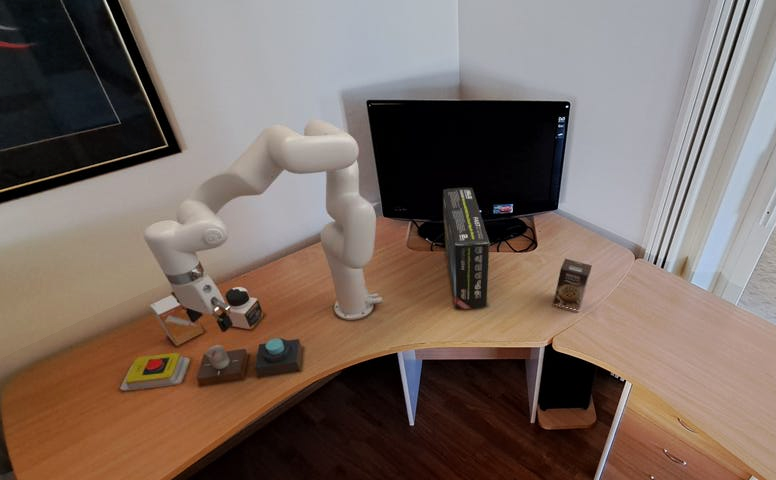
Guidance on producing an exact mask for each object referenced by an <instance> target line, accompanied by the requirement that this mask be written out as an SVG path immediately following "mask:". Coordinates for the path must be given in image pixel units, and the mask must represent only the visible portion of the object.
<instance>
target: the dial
mask: <svg viewBox="0 0 776 480" xmlns="http://www.w3.org/2000/svg"><path fill="white" fill-rule="evenodd" d="M226 351H227V350H226V349H225V347H224V346H223V345H221V344H216V345H213V346H211V347H209V348H208V349H207V350H206V352H205V354H206V355H207V357H208V359H209V361H210V362H211V364H212V366H213V368H215V369H222V368H224V367H226V366H227V365H228V364H229V363H230V359H229V357H228V355H227V353H226Z"/></svg>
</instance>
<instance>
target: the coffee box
mask: <svg viewBox="0 0 776 480" xmlns="http://www.w3.org/2000/svg"><path fill="white" fill-rule="evenodd" d="M592 267H593V266H592V265H591V264H587V263H584V262H580V261H576V260H572V259H568V258H565V259H563V263H562V265H561V266H560V271H559V276H558V279H557V280H558V281H557V284H556V289H555V294H554V300H553V304H552V305H553V307H557V308H561V309H564V310H567V311H571V312H574V313H580V310H581V308H582V305H583V301H584V297H585V293H586V289H587V286H588V282H589V278H590V275H591V271H592ZM556 304H557V305H556ZM559 305H560V306H559ZM563 306H564V307H563ZM566 307H568V308H566ZM570 308H572V309H570ZM573 309H576V310H573ZM579 309H580V310H579ZM577 310H579V311H577Z"/></svg>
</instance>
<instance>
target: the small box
mask: <svg viewBox="0 0 776 480" xmlns="http://www.w3.org/2000/svg"><path fill="white" fill-rule="evenodd" d="M149 307H150V309H151V310H152V312H153V314H154V315H155V317H156V319H157V320H158V322H159V324H160V326H161V327H162V329H163V330H164V332H165V333H166V335H167V337H168V338H169V339H170V340H171V342H172V343H173V344H174V345H175V346H176V347H178V346H180V345H181V344H184V343H186V342H188V341H189V340H191V339H193V338H195V337H198V336H200V335H201V334H204V330H203V328H202V326H201V324H200V322H199V319H198V320H197V321H196V322H191V320H190V318H189V317H188V315H187V313H186V311H187V310H183V309H182V305H181V304H180V303H178V302H177V299H175V297H174V296H173V295H172V294H170V295H169V296H166V297H163V298H161V299H159V300H158V301H155V302H153V303H151V304H149Z"/></svg>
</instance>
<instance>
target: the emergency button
mask: <svg viewBox="0 0 776 480" xmlns="http://www.w3.org/2000/svg"><path fill="white" fill-rule="evenodd" d="M190 362H191V359H190V358H189V357H183V356H182V355H181V354H180V353H179V352H172V353H163V354H155V355H146V356H139V357H136V358H135V360H134V362H133V364H131V366H130V367H129V368H128V371H127V373H126V375H125V377H124V379H123V381H122V383H121V385H120V387H119V388H120V391H122V392H127V391H128V392H129V391H137V390H144V389H152V388H153V389H154V388H161V387H167V386H169V387H170V386H177V385H179V384H182V382H183V381H184V377H185V375H186V373H187V370H188V367H189V365H190Z"/></svg>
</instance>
